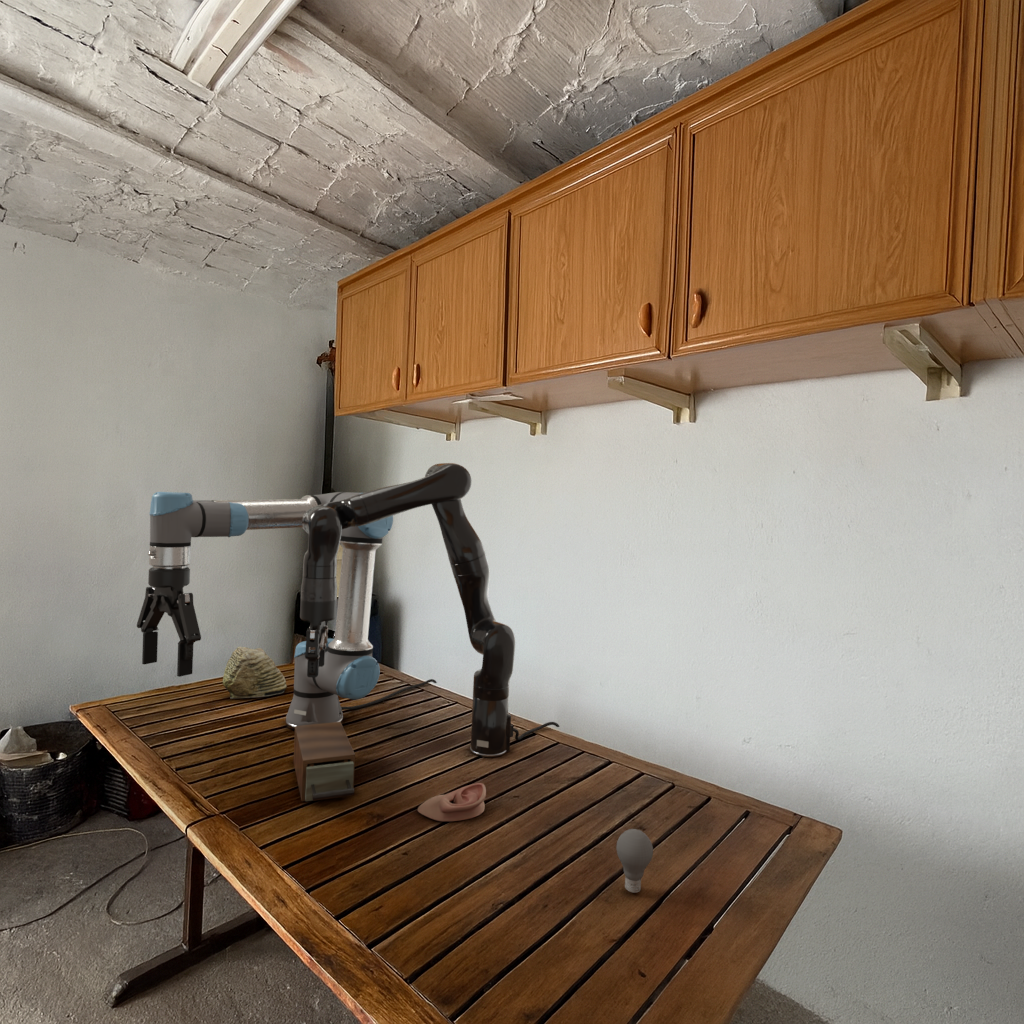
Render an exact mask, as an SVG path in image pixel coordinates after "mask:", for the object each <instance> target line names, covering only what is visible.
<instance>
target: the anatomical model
mask: <svg viewBox="0 0 1024 1024" xmlns="http://www.w3.org/2000/svg"><path fill="white" fill-rule="evenodd" d="M486 797H487V788H486V785H485V784H484V783H483V782H476V783H472V784H469V785H465V786H462V787H460V788H458V789H455V790H453V791H450V792H447V793H445V794H438V795H435V796H432V797H430V798H429V799H427V800H425V801H424V802H422V803H421V804H420V805H419V806H418V807H417V812H418V813H419V814H420V815H422V816H424V817H426V818H428V819H431V820H434V821H437V822H457V821H464V820H469V819H473V818H476V817H478V816H480V815H482V814H483V813H484V811H485V809H486V806H485V805H486V804H485V799H486Z"/></svg>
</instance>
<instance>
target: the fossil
mask: <svg viewBox="0 0 1024 1024" xmlns="http://www.w3.org/2000/svg"><path fill="white" fill-rule="evenodd" d="M222 676H223V677H222V685H223V687H224V688H225V690H226V691H228V693H229V698H230V699H250V698H264V697H271V696H275V695H281V694H284V693H285V691H286V689H287V687H288V686H287V680H286V678H285V676H284V674H283V673H282V672H281V669H279V668H278V667H277V665H276V663H275V662H274V660H273V659H272V658H271V657H270V656H269V655H268V654H267V653H266V652H265V650H264V649H263V648H260V647H258V648H251V647H247V646H246V647H245V646H238V647H237V648H236V649H235V650H233V651H232V653H231V656H230V657H229V659H228V660H227V663H226V666H225V668H224V671H223V675H222Z"/></svg>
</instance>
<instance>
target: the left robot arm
mask: <svg viewBox="0 0 1024 1024" xmlns="http://www.w3.org/2000/svg"><path fill="white" fill-rule="evenodd" d="M361 493H362V492H352V491H351V492H350V491H337V492H335V491H334V492H329V493H321V494H307V495H303V496H302V497H301V498H278V499H277V498H275V499H274V498H273V499H271V498H269V499H267V498H266V499H211V500H210V499H205V500H199V499H197V500H195V499H193V495H192V493H190V492H179V491H177V492H176V491H173V492H172V491H155V492H154V493H153V494H152V496H151V500H150V508H149V551H148V552H147V555H148V560H149V561H148V564H149V565H150V566H151V567H150V568H149V569H148V580H147V581H148V583H147V584H148V586H146V587H145V594H144V599H143V601H142V606H141V609H140V613H139V616H138V618H137V622H136V628H137V629H140V630H141V633H142V652H141V653H142V655H141V656H142V657H141V664H142V665H150V664H154V663H157V662H158V645H159V643H158V642H159V632H158V631H159V630H160V629H159V628H158V626H159V624H160V622H161V620H162V619H163V617H164V615H165V614H167V616H169V617H170V618H171V620H172V622H173V626H174V628H175V631H176V633H177V636H178V638H179V640H178V642H177V663H176V664H177V668H176V677H178V678H180V677H186V676H189V675H193V666H194V664H193V663H194V643H195V642H199V641H201V640H202V635H201V631H200V626H199V622H198V618H197V614H196V613H197V612H196V610H195V605H194V594H193V592H184V587H187V586H189V584H190V582H191V568H190V567H189V566H190V565H191V557H192V556H191V551H192V548H191V547H192V538H226V537H227V538H232V537H240V536H242V535H244V534H245V533H246V531H253V530H271V529H272V530H273V529H295V528H302V529H303V530H304V528H303V525H302V519H303V516H304V514H305V513H306V511H307V510H309V509H310V508H312V507H314V506H317V505H321V504H325V503H329V502H334V501H339V500H344V499H347V498H350V497H352V496H355V495H358V494H361ZM393 524H394V515H393V516H390V517H387V518H384V519H382V520H379V521H376V522H373V523H370V524H366V525H363V526H358V527H349V528H346V529H342V532H341V539H340V544H339V546H340V547H341V548H342V551H341V552H342V554H341V564H340V576H339V587H338V596H337V597H338V598H337V607H336V618H335V619H336V620H335V630H334V631H335V632H334V638H328V639H327V641H328V643H327V644H326V649H324V650H325V661H324V666H323V667H319V672H318V676H317V677H308V676H307V666H308V660H307V659H306V658H305V654H306V640H304V641H300V642H299V643H297V645H296V646H295V650H294V655H293V657H294V672H293V673H294V674H293V695H292V696H293V697H292V699H291V702H290V704H289V708H288V711H287V713H286V715H285V726H286V728H287V729H289V730H291V731H295V726H302V725H312V724H322V723H333V722H341V724H342V723H343V722H344V714H343V711H345V710H346V711H351V710H357V709H362V708H366V707H369V706H372V705H375V704H378V703H381V702H383V701H386V700H388V699H390V698H392V697H395V696H396V695H399V694H401V693H403V692H405V691H409V690H411V689H415V688H418V687H423V686H425V685H428V684H430V683H433V684H437V683H438V681H436V679H433V678H430V679H428V680H425V681H423V682H420V683H416V684H413V685H409V686H406V687H404V688H400V689H399V690H396V691H394V692H392V693H390V694H387V695H385V696H383V697H381V698H379V699H375V700H372V701H369V702H366V703H362V704H359V705H353V706H341V702H340V699H339V697H340V698H342V699H348V700H353V701H355V700H356V701H357V700H360V699H363V698H364V697H366V696H368V695H369V694H370V693H371V691H372V690H374V689H375V687H376V686H377V684H378V681H379V679H380V676H381V675H380V673H381V667H380V664H379V662H378V660H376V658H374V657H373V652H374V645H373V644H372V643H371V642H370V640H369V631H370V630H369V629H370V618H371V607H372V599H373V598H372V595H373V587H374V573H375V564H376V563H375V562H376V551H377V550H378V549H379V548H380V547H381V546H382V545H383V538H384V537H385V536H387V535H388V534H389V532H390V531H391V530H392V527H393ZM311 653H314V650H311Z"/></svg>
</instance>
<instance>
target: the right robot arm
mask: <svg viewBox="0 0 1024 1024" xmlns="http://www.w3.org/2000/svg"><path fill="white" fill-rule="evenodd" d="M471 487H472V476H471V474H470V472H469V470H468V469H467V468H466V467H464V466H463V465H461V464H458V463H455V462H442V463H436V464H433V465H431V466H430V467H429V468H428V469H427V471H426V473H425V475H424V477H421V478H419V479H416V480H412V481H409V482H404V483H401V484H400V483H398V484H394V485H393V484H392V485H389V486H383V487H380V488H375V489H371V490H368V491H365V492H360V493H361V494H358V495H355V496H352V497H350V498H347V499H344V500H339V501H334V502H329V503H325V504H321V505H317V506H314V507H312V508H310V509H309V510H307V511H306V513H305V514H304V516H303V519H302V525H303V528H304V529H303V528H302V529H303V530H304V531H305V532H306V533H307V534H308V541H307V550H306V552H305V553H304V556H303V561H302V563H303V565H302V579H301V585H300V605H299V606H300V610H299V618H300V620H302V621H304V622H309V623H310V624H309V626H308V628H307V629H306V631H305V635H306V637H305V641H306V654H305V658H306V659H307V660H308V666H307V676H308V677H317V676H318V672H319V667H323V666H324V661H325V650H324V649H326V644H327V643H328V641H327V639H329V635H328V633H329V624H328V623H329V622H331V621H333V620H335V619H337V604H338V598H337V597H338V583H337V582H338V581H337V573H338V571H337V569H338V568H337V567H338V553H339V549H340V539H341V532H342V529H346V528H349V527H358V526H363V525H366V524H370V523H373V522H376V521H379V520H382V519H384V518H387V517H390V516H393V517H394V516H395V515H399V514H401V513H404V512H407V511H411V510H415V509H418V508H421V507H425V506H430V505H431V506H432V509H433V511H434V514H435V516H436V519H437V521H438V525H439V529H440V531H441V536H442V539H443V543H444V546H445V550H446V553H447V557H448V561H449V564H450V568H451V571H452V575H453V578H454V581H455V584H456V587H457V591H458V594H459V597H460V600H461V604H462V607H463V611H464V615H465V620H466V627H467V633H468V637H469V642H470V645H471V647H472V648H473V649H474V651H475V652H476V653H478V654H480V655H482V661H481V662H482V664H481V668H480V669H477V670H476V671H475V672H474V673H473V683H472V685H473V686H472V706H471V707H472V709H471V729H470V730H471V732H470V747H469V751H470V752H471V753H472V754H473V755H475V756H477V757H481V758H496V757H497V758H498V757H502V756H504V755H506V753H510V749H511V738H513V737H514V739H515V741H520V740H522V739H523V738H525V737H526V736H528V735H530V734H532V733H535V732H537V731H540V730H542V729H544V728H547V727H549V726H554V727H556V728H560V725H559V723H557V722H555V721H549V722H545V723H543V724H541V725H539V726H536V727H534V728H532V729H529V730H526V731H524V732H522V734H521V735H520V732H519V730H518V729H517V728H515V726H514V725H513V724H512V714H510V713H509V704H510V703H509V700H510V679H511V677H512V675H513V672H514V667H515V655H516V654H515V653H516V636H515V633H514V630H513V629H512V628H511V626H509V625H508V624H506V623H503V622H500V621H498V620H496V618H495V616H494V614H493V611H492V607H491V604H490V600H489V588H490V581H491V569H490V565H489V564H490V563H489V560H488V557H487V552H486V550H485V547H484V545H483V542H482V539H481V538H480V536H479V535H478V534H477V532H476V530H475V529H474V527H473V525H472V523H470V520H469V519H468V517H467V515H466V513H465V510H464V507H463V503H462V502H463V501H462V499H463V498H465V497H466V496H467V494H468V493H469V492H470V490H471V489H472V488H471ZM311 650H314V653H311ZM514 733H515V735H514Z"/></svg>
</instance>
